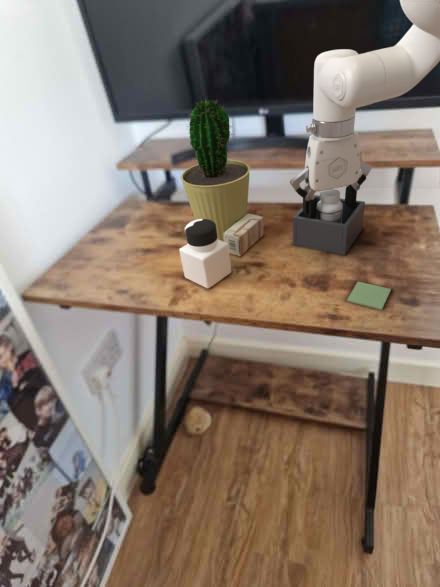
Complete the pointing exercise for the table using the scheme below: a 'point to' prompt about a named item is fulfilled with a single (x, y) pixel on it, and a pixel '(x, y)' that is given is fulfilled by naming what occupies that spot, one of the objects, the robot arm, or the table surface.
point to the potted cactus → (215, 170)
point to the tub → (328, 229)
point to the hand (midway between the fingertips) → (329, 210)
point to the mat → (369, 295)
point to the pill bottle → (329, 206)
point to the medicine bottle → (204, 254)
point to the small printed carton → (244, 234)
